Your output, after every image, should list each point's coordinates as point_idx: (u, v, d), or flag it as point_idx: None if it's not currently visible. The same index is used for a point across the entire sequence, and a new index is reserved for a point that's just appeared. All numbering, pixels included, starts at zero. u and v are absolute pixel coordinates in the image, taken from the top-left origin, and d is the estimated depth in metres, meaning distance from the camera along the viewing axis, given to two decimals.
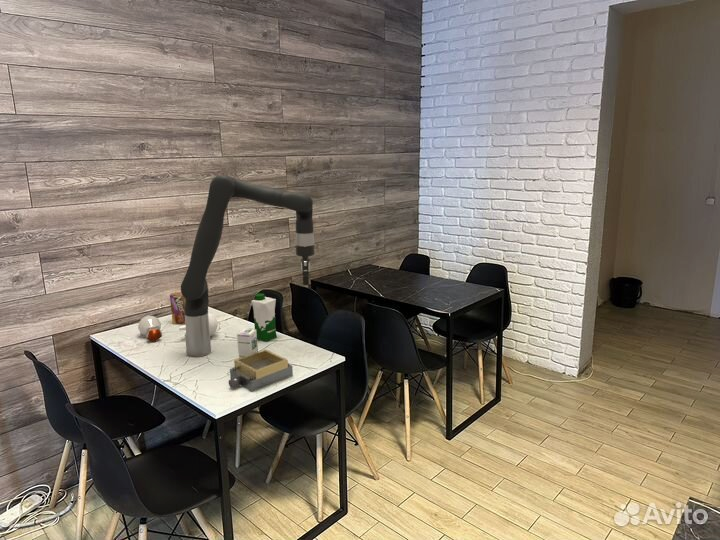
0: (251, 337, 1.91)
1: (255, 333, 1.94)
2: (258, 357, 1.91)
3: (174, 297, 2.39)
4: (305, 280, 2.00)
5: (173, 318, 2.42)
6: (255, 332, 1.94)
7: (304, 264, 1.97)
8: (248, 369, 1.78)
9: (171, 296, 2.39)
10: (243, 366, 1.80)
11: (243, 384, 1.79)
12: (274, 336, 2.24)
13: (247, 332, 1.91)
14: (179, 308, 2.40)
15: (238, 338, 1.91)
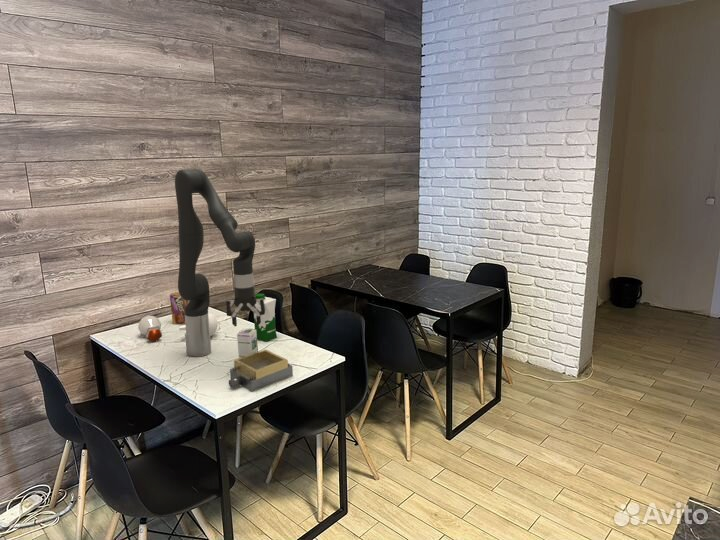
0: (251, 337, 1.91)
1: (255, 333, 1.94)
2: (258, 357, 1.91)
3: (174, 297, 2.39)
4: (260, 319, 1.92)
5: (173, 318, 2.42)
6: (255, 332, 1.94)
7: (263, 302, 1.91)
8: (248, 369, 1.78)
9: (171, 296, 2.39)
10: (243, 366, 1.80)
11: (243, 384, 1.79)
12: (274, 336, 2.24)
13: (247, 332, 1.91)
14: (179, 308, 2.40)
15: (238, 338, 1.91)
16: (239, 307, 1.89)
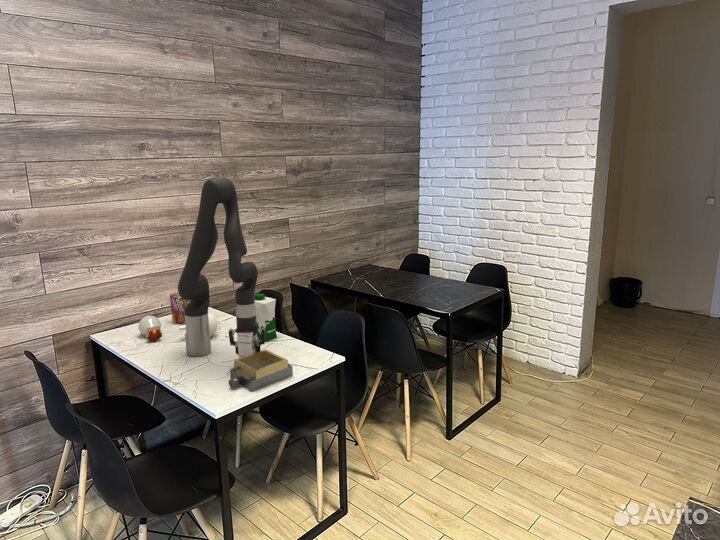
0: (251, 337, 1.91)
1: None
2: (258, 357, 1.91)
3: (174, 297, 2.39)
4: None
5: (173, 318, 2.42)
6: None
7: (264, 332, 1.93)
8: (248, 369, 1.78)
9: (171, 296, 2.39)
10: (243, 366, 1.80)
11: (243, 384, 1.79)
12: (274, 336, 2.24)
13: (247, 332, 1.91)
14: (179, 308, 2.40)
15: (238, 338, 1.91)
16: None
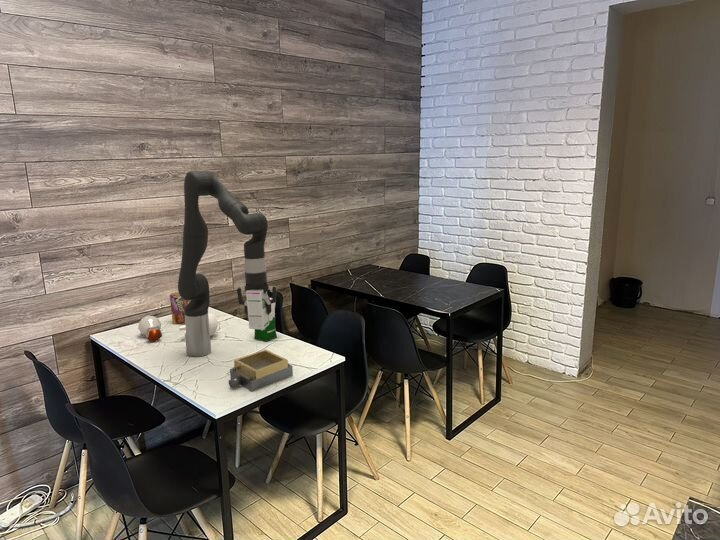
0: (261, 295, 1.77)
1: None
2: (258, 357, 1.91)
3: (174, 297, 2.39)
4: None
5: (173, 318, 2.42)
6: None
7: None
8: (248, 369, 1.78)
9: (171, 296, 2.39)
10: (243, 366, 1.80)
11: (243, 384, 1.79)
12: (274, 336, 2.24)
13: (257, 289, 1.77)
14: (179, 308, 2.40)
15: (247, 295, 1.77)
16: None
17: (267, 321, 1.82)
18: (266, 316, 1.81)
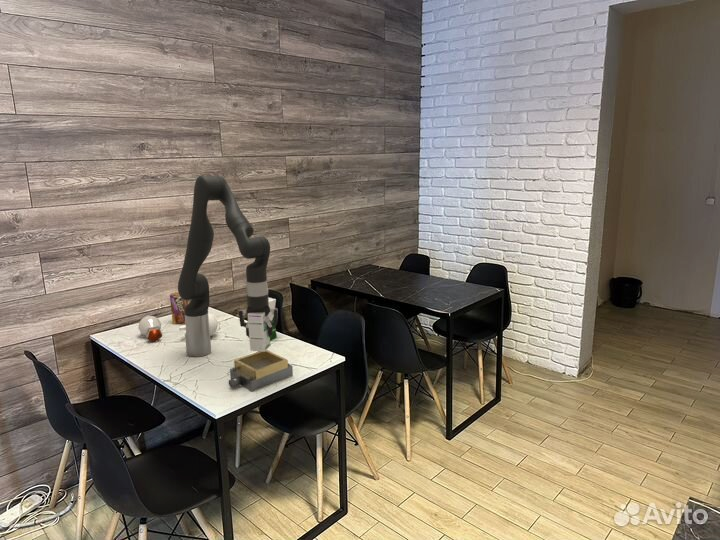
0: (263, 318, 1.78)
1: None
2: (258, 357, 1.91)
3: (174, 297, 2.39)
4: (272, 330, 1.82)
5: (173, 318, 2.42)
6: None
7: (277, 312, 1.81)
8: (248, 369, 1.78)
9: (171, 296, 2.39)
10: (243, 366, 1.80)
11: (243, 384, 1.79)
12: (274, 336, 2.24)
13: (258, 312, 1.78)
14: (179, 308, 2.40)
15: (248, 318, 1.78)
16: None
17: (268, 343, 1.83)
18: (267, 338, 1.82)
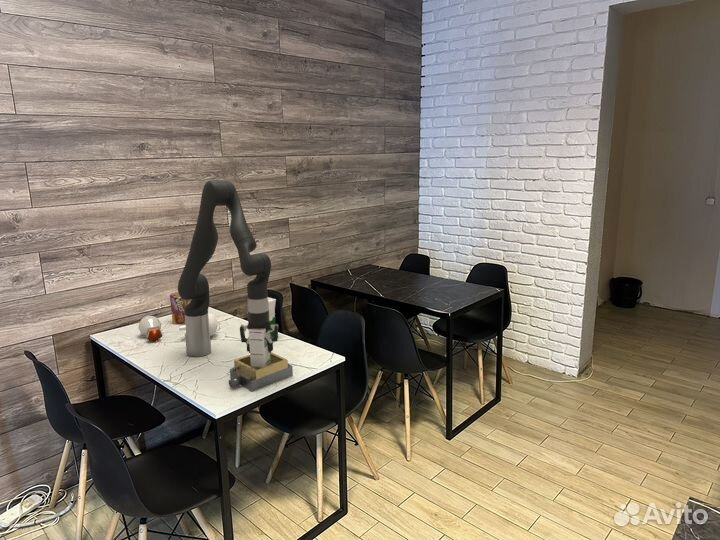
0: (263, 334, 1.79)
1: None
2: None
3: (174, 297, 2.39)
4: (272, 346, 1.84)
5: (173, 318, 2.42)
6: None
7: None
8: (248, 369, 1.78)
9: (171, 296, 2.39)
10: (243, 366, 1.80)
11: (243, 384, 1.79)
12: None
13: (259, 328, 1.80)
14: (179, 308, 2.40)
15: (249, 334, 1.80)
16: None
17: (268, 359, 1.84)
18: (267, 354, 1.83)
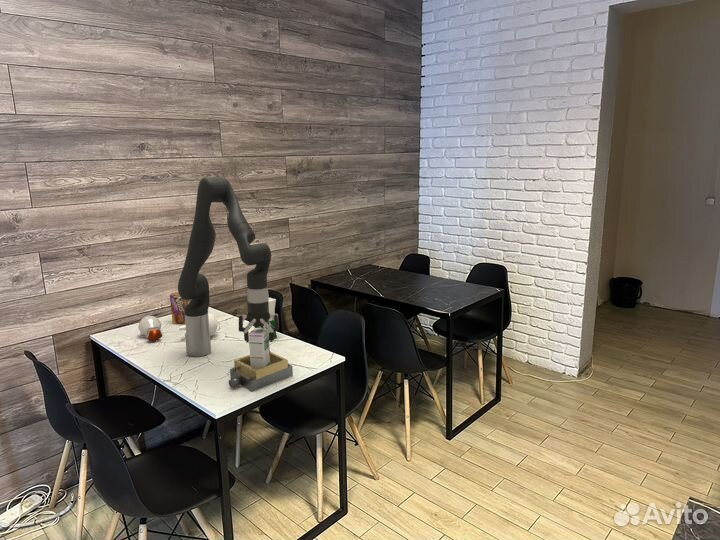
0: (263, 337, 1.80)
1: (267, 333, 1.83)
2: None
3: (174, 297, 2.39)
4: (273, 335, 1.83)
5: (173, 318, 2.42)
6: (267, 331, 1.84)
7: (277, 317, 1.81)
8: (248, 369, 1.78)
9: (171, 296, 2.39)
10: (243, 366, 1.80)
11: (243, 384, 1.79)
12: (274, 336, 2.24)
13: (259, 332, 1.80)
14: (179, 308, 2.40)
15: (249, 338, 1.80)
16: (252, 323, 1.79)
17: (268, 362, 1.85)
18: (267, 357, 1.84)
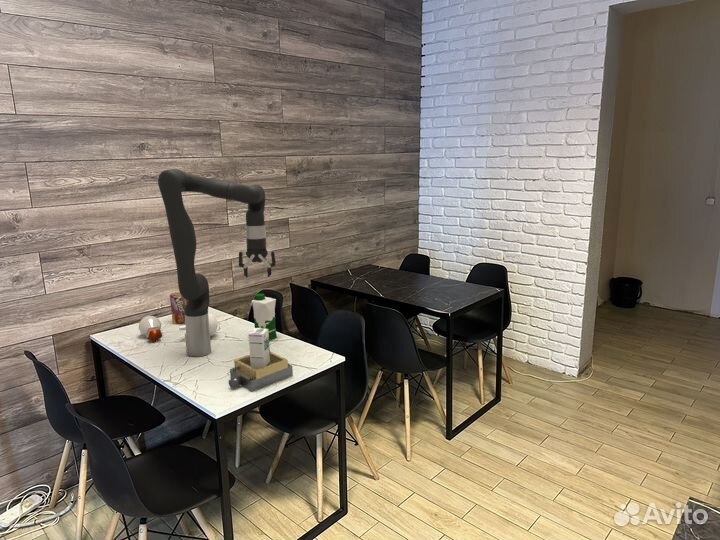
0: (263, 337, 1.80)
1: (267, 333, 1.83)
2: None
3: (174, 297, 2.39)
4: None
5: (173, 318, 2.42)
6: (267, 331, 1.84)
7: (274, 254, 1.98)
8: (248, 369, 1.78)
9: (171, 296, 2.39)
10: (243, 366, 1.80)
11: (243, 384, 1.79)
12: (274, 336, 2.24)
13: (259, 332, 1.80)
14: (179, 308, 2.40)
15: (249, 338, 1.80)
16: (251, 258, 1.96)
17: (268, 362, 1.85)
18: (267, 357, 1.84)
